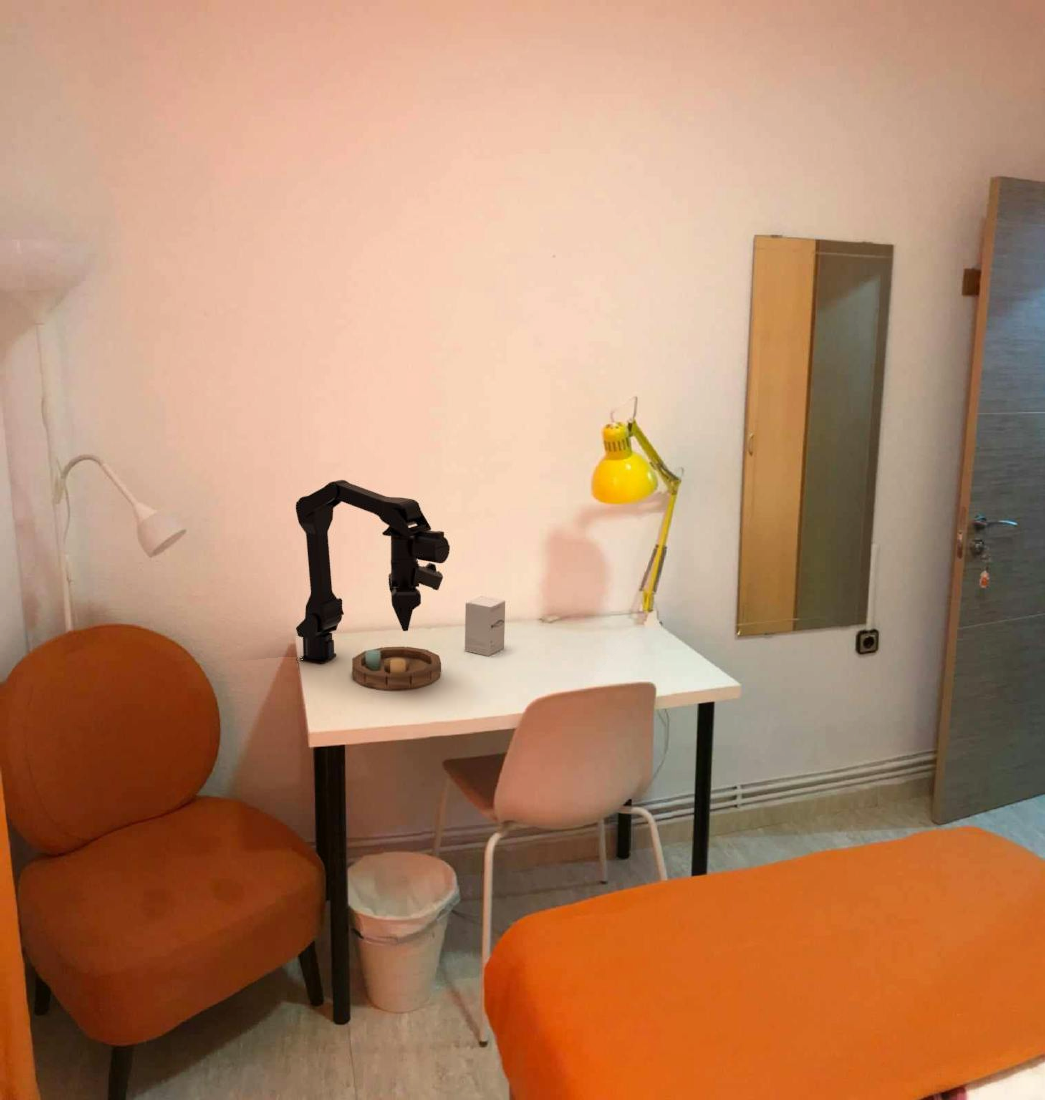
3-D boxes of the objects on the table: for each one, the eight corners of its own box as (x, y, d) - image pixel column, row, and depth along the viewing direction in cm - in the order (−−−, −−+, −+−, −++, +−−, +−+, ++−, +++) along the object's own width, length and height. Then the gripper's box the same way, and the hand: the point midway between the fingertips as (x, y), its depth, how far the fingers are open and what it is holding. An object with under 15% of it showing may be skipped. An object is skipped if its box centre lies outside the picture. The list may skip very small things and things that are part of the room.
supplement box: (489, 657, 242) (489, 607, 239) (463, 651, 245) (464, 602, 242) (505, 648, 248) (506, 600, 245) (480, 643, 251) (481, 595, 248)
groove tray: (336, 682, 223) (335, 668, 222) (378, 654, 241) (378, 642, 240) (416, 695, 216) (416, 682, 215) (454, 666, 234) (454, 653, 234)
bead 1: (379, 671, 227) (379, 654, 226) (364, 671, 227) (364, 654, 226) (381, 666, 230) (381, 649, 229) (366, 665, 230) (366, 649, 229)
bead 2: (400, 681, 221) (400, 664, 220) (387, 678, 222) (387, 661, 221) (408, 676, 224) (408, 659, 223) (395, 674, 225) (395, 657, 224)
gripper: (444, 566, 211) (444, 636, 215) (436, 546, 229) (436, 611, 233) (391, 567, 209) (392, 638, 213) (388, 547, 227) (388, 612, 231)
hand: (404, 624), depth 223 cm, fingers open, 9 cm apart
